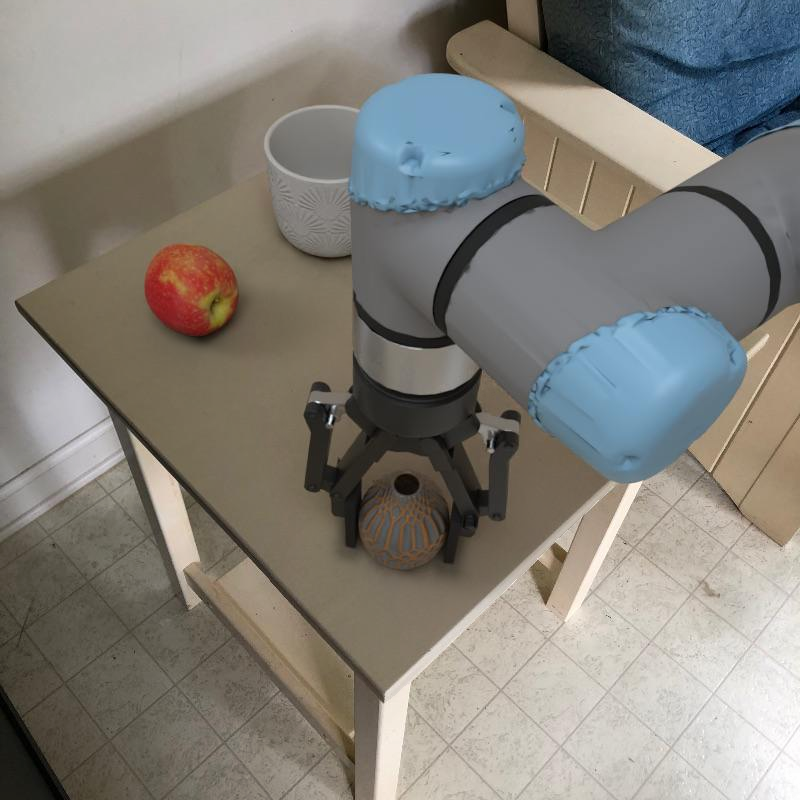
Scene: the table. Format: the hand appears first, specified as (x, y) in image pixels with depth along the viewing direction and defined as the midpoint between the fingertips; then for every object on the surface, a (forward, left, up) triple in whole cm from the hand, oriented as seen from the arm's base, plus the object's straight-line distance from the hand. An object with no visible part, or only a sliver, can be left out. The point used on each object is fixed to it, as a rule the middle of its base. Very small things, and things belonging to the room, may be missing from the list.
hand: (401, 539), depth 65 cm
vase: (0, 0, 0) cm, 0 cm away
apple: (+20, +23, 0) cm, 30 cm away
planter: (+35, +13, 0) cm, 37 cm away
